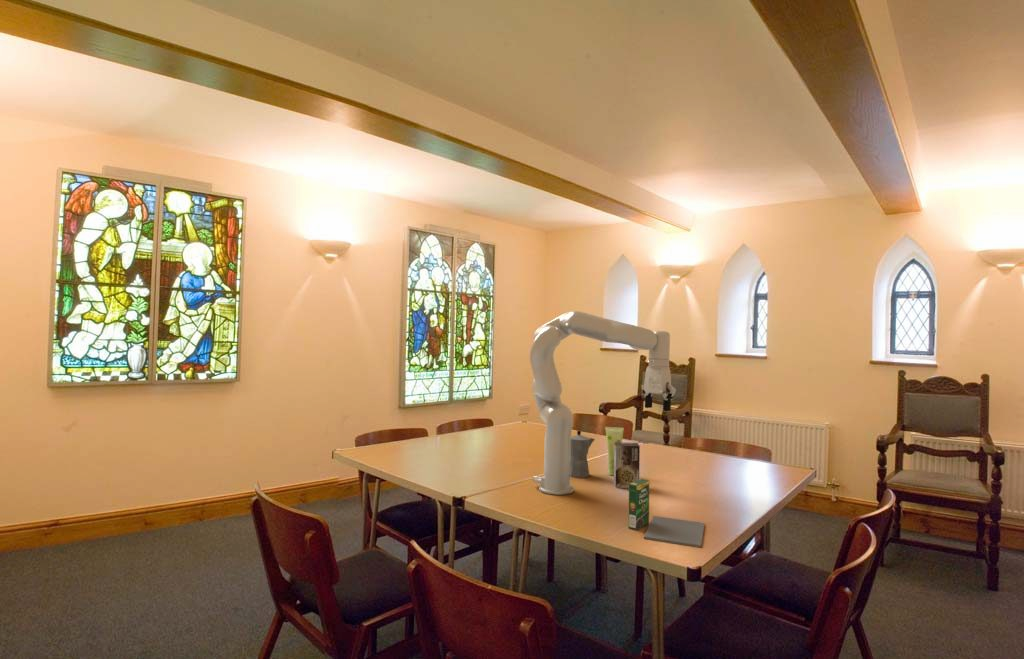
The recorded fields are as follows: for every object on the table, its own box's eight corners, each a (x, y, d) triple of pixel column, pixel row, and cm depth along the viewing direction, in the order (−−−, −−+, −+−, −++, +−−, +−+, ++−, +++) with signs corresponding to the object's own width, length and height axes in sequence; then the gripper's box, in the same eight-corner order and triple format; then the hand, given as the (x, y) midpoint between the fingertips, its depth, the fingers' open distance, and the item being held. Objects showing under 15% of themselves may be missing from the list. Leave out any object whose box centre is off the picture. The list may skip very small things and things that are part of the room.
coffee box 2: (636, 530, 158) (637, 485, 158) (627, 528, 160) (628, 483, 160) (649, 524, 164) (650, 480, 164) (641, 522, 166) (641, 478, 166)
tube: (611, 476, 221) (612, 428, 222) (604, 473, 226) (605, 426, 226) (622, 475, 224) (623, 427, 224) (615, 472, 228) (616, 425, 229)
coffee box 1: (637, 484, 210) (638, 442, 210) (639, 489, 203) (640, 445, 204) (613, 483, 211) (614, 441, 211) (614, 487, 204) (615, 444, 205)
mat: (643, 538, 151) (643, 536, 151) (653, 517, 170) (653, 515, 170) (701, 547, 146) (701, 545, 146) (704, 524, 164) (704, 522, 164)
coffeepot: (591, 472, 228) (592, 429, 228) (596, 478, 218) (597, 432, 219) (554, 471, 227) (556, 428, 227) (558, 477, 217) (559, 432, 218)
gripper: (635, 362, 212) (634, 406, 211) (667, 364, 196) (666, 412, 196) (650, 362, 215) (649, 406, 215) (683, 365, 200) (681, 412, 200)
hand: (657, 409), depth 205 cm, fingers open, 9 cm apart
